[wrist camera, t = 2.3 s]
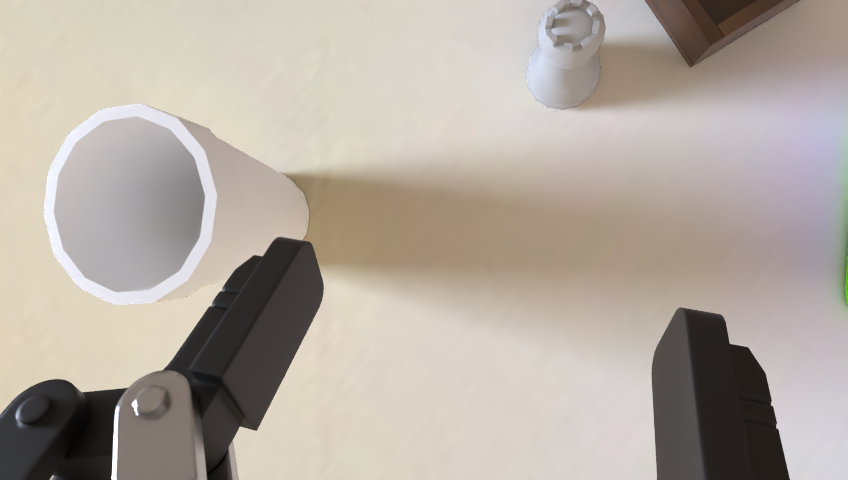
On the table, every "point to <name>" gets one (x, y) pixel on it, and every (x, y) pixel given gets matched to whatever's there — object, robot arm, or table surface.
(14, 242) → the table surface
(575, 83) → the rook chess piece
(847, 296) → the toy room diorama
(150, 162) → the foam cup
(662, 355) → the robot arm
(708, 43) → the compartment tray
